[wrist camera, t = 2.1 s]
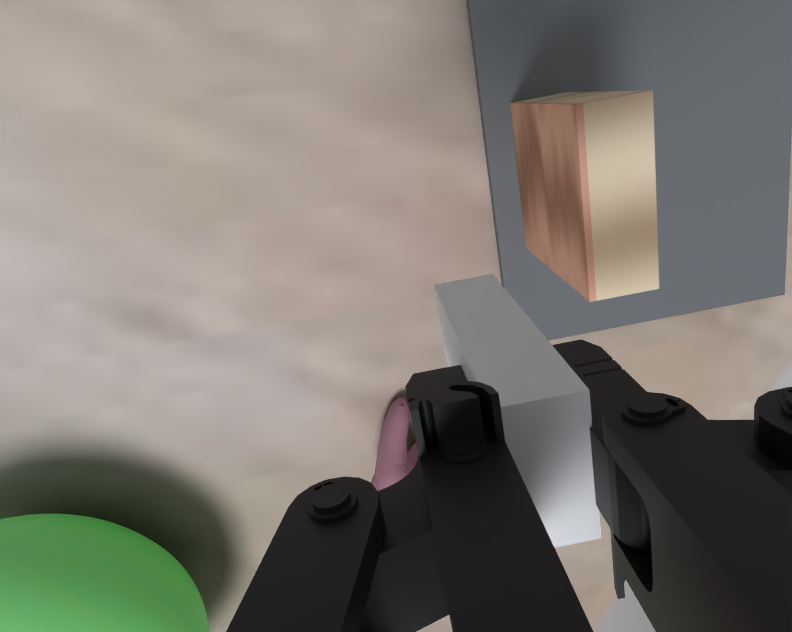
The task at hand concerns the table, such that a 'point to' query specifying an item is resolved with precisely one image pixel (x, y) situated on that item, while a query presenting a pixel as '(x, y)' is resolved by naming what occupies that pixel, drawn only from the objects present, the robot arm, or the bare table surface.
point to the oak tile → (590, 188)
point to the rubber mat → (674, 141)
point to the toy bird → (91, 579)
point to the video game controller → (394, 447)
